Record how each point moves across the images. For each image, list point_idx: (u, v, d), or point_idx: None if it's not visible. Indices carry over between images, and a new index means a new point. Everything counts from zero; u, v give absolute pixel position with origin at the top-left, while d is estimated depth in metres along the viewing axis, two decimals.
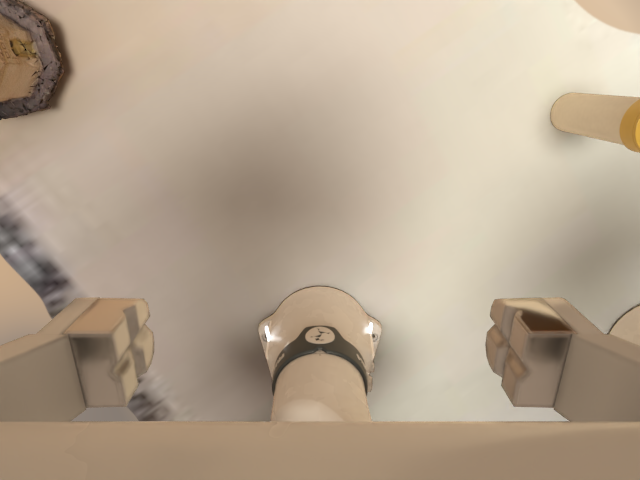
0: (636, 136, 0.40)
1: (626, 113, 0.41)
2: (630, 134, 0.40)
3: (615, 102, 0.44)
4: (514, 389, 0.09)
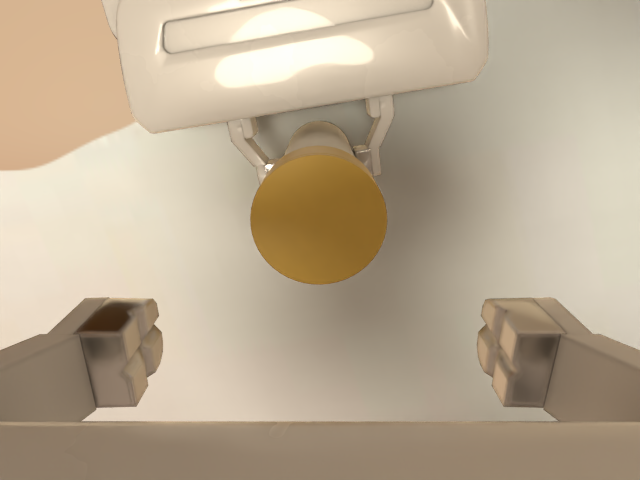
0: (317, 281, 0.18)
1: None
2: None
3: None
4: (503, 389, 0.09)
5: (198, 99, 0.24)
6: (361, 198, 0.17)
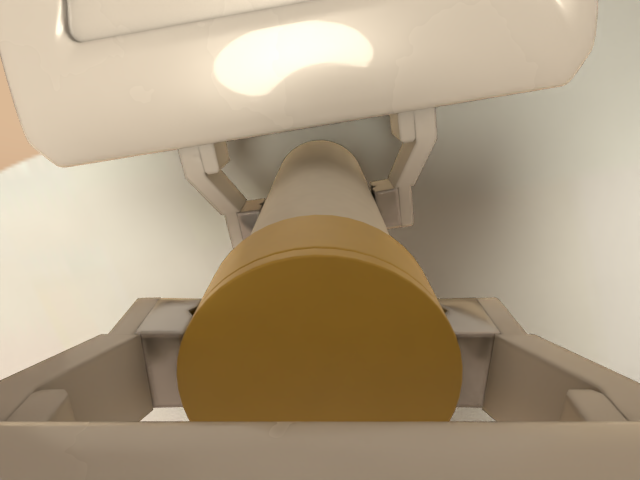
0: None
1: None
2: None
3: None
4: None
5: (127, 115, 0.15)
6: (410, 340, 0.08)
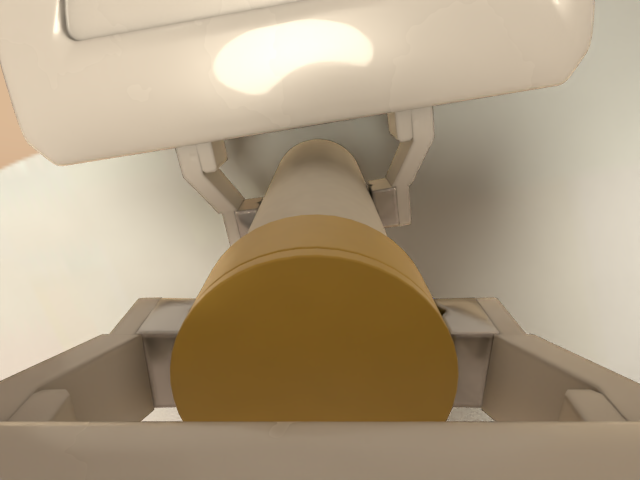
0: None
1: None
2: None
3: None
4: None
5: (125, 114, 0.15)
6: (302, 296, 0.07)
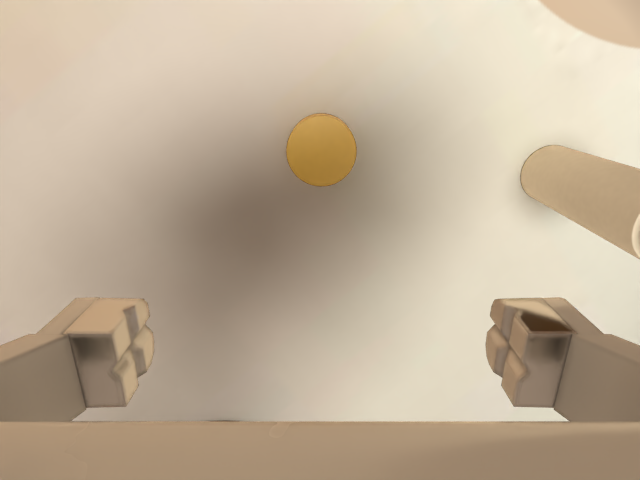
0: (299, 176, 0.34)
1: None
2: None
3: (617, 184, 0.25)
4: (514, 389, 0.09)
5: None
6: (346, 155, 0.33)
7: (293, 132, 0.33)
